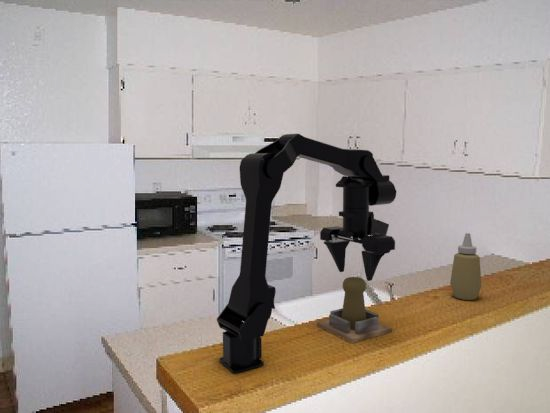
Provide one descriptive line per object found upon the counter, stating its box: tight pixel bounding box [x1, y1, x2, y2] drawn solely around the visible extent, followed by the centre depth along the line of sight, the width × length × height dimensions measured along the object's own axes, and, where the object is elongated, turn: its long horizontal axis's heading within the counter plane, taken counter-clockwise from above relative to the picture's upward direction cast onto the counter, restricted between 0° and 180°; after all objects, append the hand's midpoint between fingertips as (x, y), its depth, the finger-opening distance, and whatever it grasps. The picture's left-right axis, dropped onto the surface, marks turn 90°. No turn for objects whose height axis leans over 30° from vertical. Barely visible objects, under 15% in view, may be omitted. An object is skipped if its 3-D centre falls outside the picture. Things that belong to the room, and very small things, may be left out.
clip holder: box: [316, 307, 393, 344], centre depth 105 cm, size 12×12×3 cm
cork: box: [341, 276, 367, 330], centre depth 104 cm, size 6×6×11 cm
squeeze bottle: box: [449, 232, 483, 301], centre depth 127 cm, size 8×8×18 cm
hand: (355, 276), depth 104 cm, fingers open, 9 cm apart
